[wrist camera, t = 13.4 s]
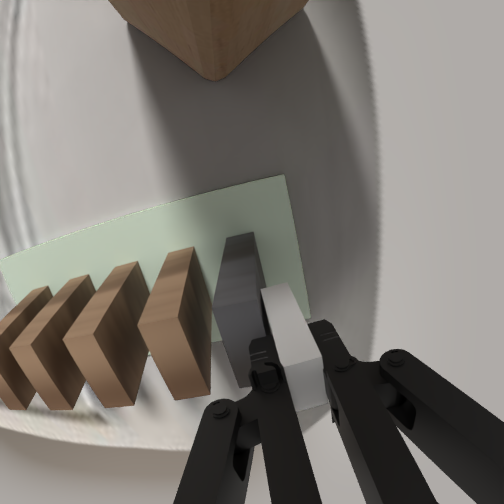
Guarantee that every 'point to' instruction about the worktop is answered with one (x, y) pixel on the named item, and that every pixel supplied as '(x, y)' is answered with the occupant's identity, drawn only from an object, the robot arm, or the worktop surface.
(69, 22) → the worktop surface
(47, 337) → the domino
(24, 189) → the worktop surface
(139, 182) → the worktop surface
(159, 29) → the block
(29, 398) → the domino end
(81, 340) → the domino
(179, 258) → the domino
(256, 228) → the mat
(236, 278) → the dark gray domino
